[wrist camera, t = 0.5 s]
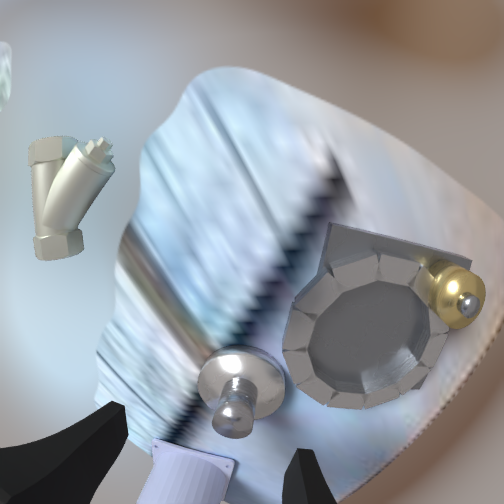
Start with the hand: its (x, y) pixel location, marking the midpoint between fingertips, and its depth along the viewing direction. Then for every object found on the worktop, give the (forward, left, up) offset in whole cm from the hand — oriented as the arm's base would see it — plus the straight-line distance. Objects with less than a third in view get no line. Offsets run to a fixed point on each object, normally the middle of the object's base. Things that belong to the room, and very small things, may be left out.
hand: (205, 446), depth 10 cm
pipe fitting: (+8, +13, -10) cm, 18 cm away
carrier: (+4, -9, -9) cm, 13 cm away
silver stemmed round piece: (-3, -1, -10) cm, 10 cm away
